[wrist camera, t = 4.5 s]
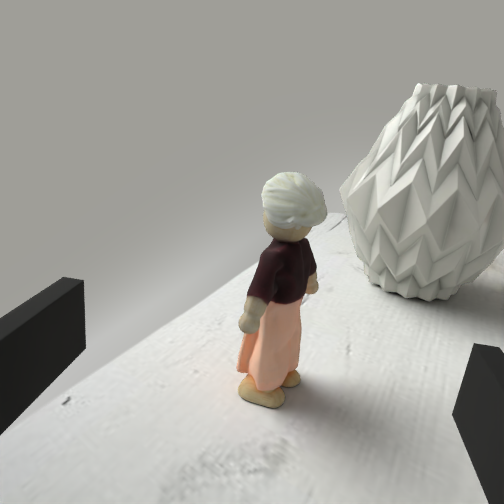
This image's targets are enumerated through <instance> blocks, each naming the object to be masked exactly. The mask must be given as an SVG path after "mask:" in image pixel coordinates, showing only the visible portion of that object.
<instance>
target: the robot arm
mask: <svg viewBox="0 0 504 504" xmlns="http://www.w3.org/2000/svg"><path fill="white" fill-rule="evenodd" d="M85 349H86V336H85V304H84V280H79V279H73V278H67V277H62V278H61V279H59V280H58V281H56V282H55V283H53V284H52V285H51V286H49V287H47V288H46V289H44V290H43V291H41V292H40V293H38V294H37V295H35V296H33V297H32V298H30V299H29V300H27V301H26V302H24V303H23V304H21V305H20V306H18V307H17V308H15V309H14V310H12V311H11V312H9V313H8V314H6V315H4V316H3V317H1V318H0V435H1V434H2V433H3V432H4V431H5V430H6V429H7V428H8V427H9V426H10V425H11V424H12V423H13V422H14V421H15V420H16V419H17V418H18V417H19V416H20V415H21V414H22V413H23V412H24V411H25V409H27V408H28V406H30V405H31V403H33V401H35V399H36V398H37V397H38V396H39V395H40V394H41V393H42V392H43V391H44V390H45V389H46V388H47V387H48V386H49V385H50V384H51V383H52V382H53V381H54V380H55V379H56V378H57V377H58V376H59V375H60V374H61V373H62V372H63V371H64V370H65V369H66V368H67V367H68V366H69V365H70V364H71V363H72V362H73V361H74V360H75V358H77V357H78V356H79V355H80V354H81V353H82V352H83V351H84V350H85ZM452 416H453V418H454V420H455V423H456V425H457V428H458V430H459V433H460V435H461V437H462V440H463V442H464V445H465V447H466V449H467V452H468V454H469V457H470V459H471V462H472V464H473V466H474V469H475V471H476V474H477V476H478V479H479V481H480V483H481V486H482V488H483V491H484V493H485V496H486V498H487V500H488V503H489V504H504V353H503V352H502V350H501V349H500V348H499V347H494V346H488V345H482V344H475V343H474V345H473V348H472V351H471V354H470V358H469V361H468V364H467V367H466V371H465V374H464V377H463V380H462V384H461V387H460V390H459V393H458V397H457V400H456V403H455V406H454V410H453V413H452Z"/></svg>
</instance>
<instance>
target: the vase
mask: <svg viewBox="0 0 504 504" xmlns="http://www.w3.org/2000/svg"><path fill="white" fill-rule="evenodd" d="M496 96H497V92H496V90H491V89H479V88H478V87H469V88H465V87H462V86H460V85H453V86H446V85H442V84H436V85H431V84H427V83H424V84H417V85H416V88H415V91H414V93H413V95H412V97H411V98H410V99H408V100H406V101H405V103H404V105H403V106H402V108H401V110H400V111H399V113H398V114H397V115H396V116H395V117H394V118H393V119H391V120H390V121H389V122H388V123H387V124H386V125H385V127H384V129H383V130H382V132H381V134H380V135H379V137H378V139H377V140H376V142H375V144H374V146H373V147H372V149H371V151H370V152H369V154H368V156H367V157H365V158H364V159H363V160H362V161H361V162H360V163H359V164H358V165H357V166H356V168H355V169H354V170H353V172H352V173H351V174H350V176H349V177H348V178H347V180H346V181H345V182H344V183H343V185H342V186H341V187H340V189H339V191H340V195H341V198H342V201H343V205H344V209H345V212H346V215H347V220H348V225H349V232H350V235H351V238H352V241H353V245H354V248H355V251H356V254H357V257H358V258H359V259H361V260H362V261H363V262H364V274H365V275H367V276H369V282H370V283H373V284H376V285H380V286H381V287H382V289H383V290H384V291H387V292H397V293H399V294H400V295H402V296H403V297H405V298H412V297H418V298H420V299H423V300H425V301H429V302H430V301H432V300H433V299H435V298H436V299H441V300H448V299H449V297H450V295H455V294H456V292H457V291H458V289H459V287H460V285H462V284H466V283H470V282H473V281H474V280H475V279H476V278H477V277H478V276H479V275H480V274H481V273H482V272H483V271H484V270H485V269H486V268H487V267H488V266H489V265H490V264H491V263H492V262H493V261H494V259H495V258H496V257H497V256H498V254H499V253H500V252H501V251H502V250H503V249H504V128H503V126H502V121H501V113H500V109H499V108H498V107H497V106H496Z"/></svg>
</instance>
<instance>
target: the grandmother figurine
mask: <svg viewBox="0 0 504 504" xmlns="http://www.w3.org/2000/svg"><path fill="white" fill-rule="evenodd" d="M261 197H262V199H263V206H262V207H263V208H264V215H263V219H264V226H265V228H266V231H267V232H268V234H270V235H271V236H272V237H273V238H274V239H273V241H272V242H271V244H270V245H269V247H268V248H266V249H265V250H264V251H263V253H262V254H261V256H260V261H259V264H258V267H257V269H256V273H255V275H254V278H253V280H252V283H251V285H250V287H249V289H248V292H247V300H246V302H245V306H244V314H243V315H242V316H241V317H240V319H239V328H240V330H241V331H242V332H244V336H243V340H242V344H241V348H240V352H239V356H238V362H237V367H236V369H237V371H238V372H241V373H248V375H247V376H246V378H245V379H243V381H242V382H241V384H240V386H239V388H238V393H239V395H240V396H241V397H242V398H243V399H245V400H247V401H250V402H253V403H256V404H259V405H263V406H267V407H270V408H276V407H279V406H281V405H282V404H283V402H284V401H285V394H284V392H283V390H282V389H281V388H280V387H279V386H281V385H282V386H284V387H294V386H296V385H297V384H299V383H300V380H301V379H300V375H299V373H298V372H297V371H296V370H295V369H296V368H297V367H298V362H299V353H300V340H301V319H300V306H301V302H302V299H303V296H304V294H305V293H307V294H314V293H316V292H317V290H318V282H317V281H316V280H317V273H316V268H317V266H316V262H315V259H314V256H313V253H312V250H311V247H310V244H309V241H308V239H306V238H304V237H305V236H306V235H307V234H308V233H309V232H310V230H311V228H312V227H313V226H316V225H319V224H320V223H322V222H323V221H324V220H325V219H326V216H327V208H326V205H325V200H324V195H323V192H322V190H321V189H320V188H319V187H317V186H316V185H315V183H314V182H312V181H311V180H310V179H309V178H308V177H307V176H305V175H303V174H300V173H296V172H285V173H278V174H277V175H276V176H275V177H273V178H272V179H270V180H269V181H267V182H266V185H265V186H264V187H263V192H262V195H261Z"/></svg>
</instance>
